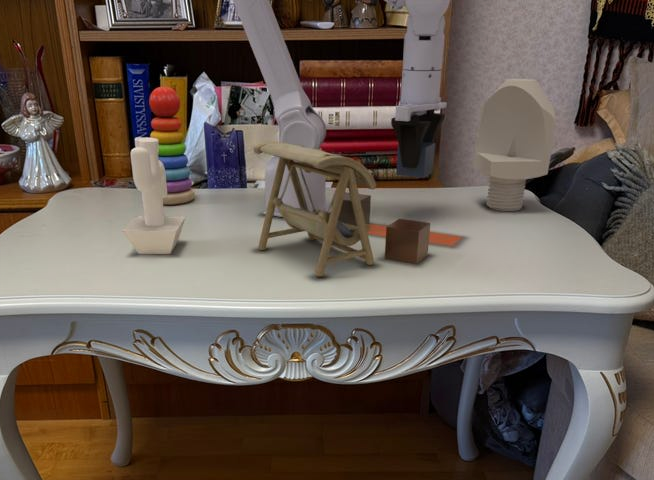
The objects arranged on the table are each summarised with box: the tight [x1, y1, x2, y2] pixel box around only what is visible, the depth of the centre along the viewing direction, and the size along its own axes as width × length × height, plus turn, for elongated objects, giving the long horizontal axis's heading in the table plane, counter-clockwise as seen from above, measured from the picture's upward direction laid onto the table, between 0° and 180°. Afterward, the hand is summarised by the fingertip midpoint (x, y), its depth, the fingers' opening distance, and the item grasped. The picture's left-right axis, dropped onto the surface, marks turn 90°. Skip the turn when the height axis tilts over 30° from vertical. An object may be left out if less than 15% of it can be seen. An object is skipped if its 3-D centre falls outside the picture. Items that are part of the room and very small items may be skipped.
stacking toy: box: [148, 86, 195, 206], centre depth 114 cm, size 8×8×19 cm
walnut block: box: [384, 218, 431, 265], centre depth 89 cm, size 4×4×4 cm
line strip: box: [367, 223, 463, 247], centre depth 100 cm, size 21×5×1 cm, turn 61°
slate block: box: [395, 142, 436, 179], centre depth 103 cm, size 4×4×4 cm
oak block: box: [332, 191, 372, 226], centre depth 102 cm, size 4×4×4 cm
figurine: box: [122, 136, 187, 255], centre depth 90 cm, size 7×9×15 cm
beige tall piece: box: [473, 78, 557, 212], centre depth 109 cm, size 9×9×20 cm
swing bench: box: [252, 140, 377, 278], centre depth 86 cm, size 15×10×15 cm, turn 34°
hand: (414, 164), depth 104 cm, fingers closed on slate block, 4 cm apart
